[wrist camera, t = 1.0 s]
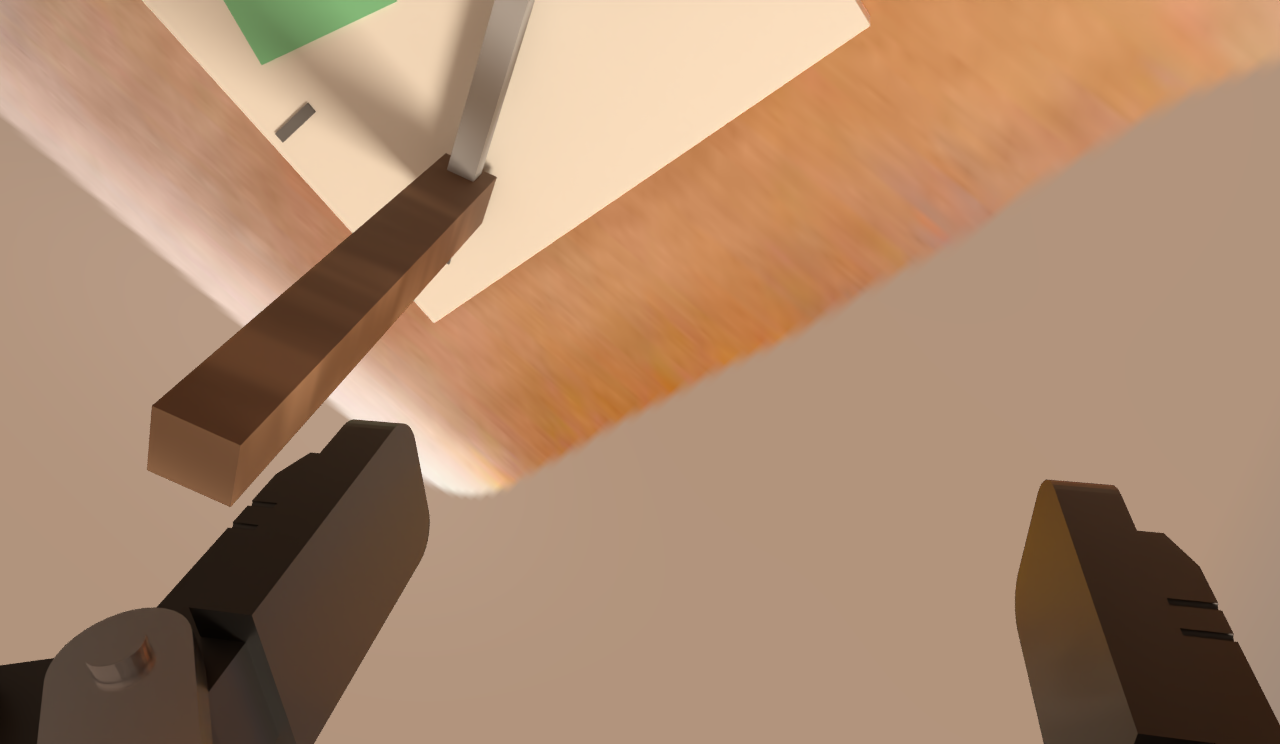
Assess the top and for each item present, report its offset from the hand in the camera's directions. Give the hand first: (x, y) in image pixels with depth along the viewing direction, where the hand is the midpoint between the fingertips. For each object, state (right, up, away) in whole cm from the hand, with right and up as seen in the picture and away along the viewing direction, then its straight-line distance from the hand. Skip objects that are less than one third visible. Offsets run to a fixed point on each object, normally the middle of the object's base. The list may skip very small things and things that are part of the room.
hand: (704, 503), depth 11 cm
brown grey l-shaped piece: (-5, +12, +18) cm, 22 cm away
